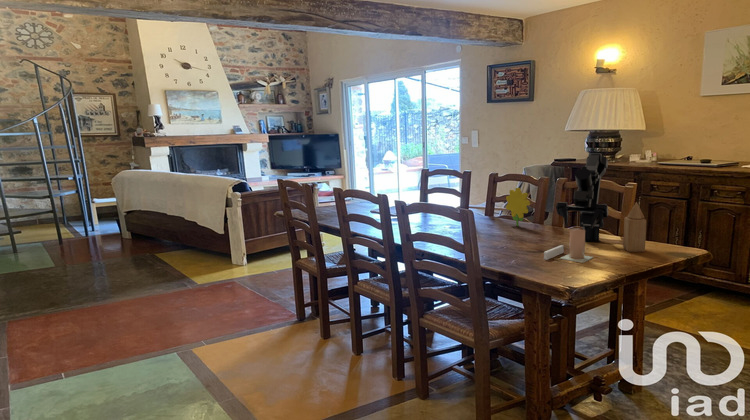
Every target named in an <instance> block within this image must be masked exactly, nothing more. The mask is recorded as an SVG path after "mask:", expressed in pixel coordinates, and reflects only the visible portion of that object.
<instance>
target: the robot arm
mask: <svg viewBox="0 0 750 420" xmlns="http://www.w3.org/2000/svg"><path fill="white" fill-rule="evenodd" d="M608 161H609V160H608V157H606V156H604V155H602V153H600V152H595V153H594V152H591V153H589V154H588V156H586V163H585V166H581V168H579V169H578V170H577V171H575V172H574V177H575V182H576V186H577V187H578V188H577V190H574V191H573V205H568V202H566V201H565V202H564V201H557V203H556V205H555V210H556V212H557V215H559V216H560V217H562V218H563V219H564V225H565V227H566V228H567V227H568V225H569V224H568V223H569V212H580V214H579V227H580V228H582V229H585V243H586V242H587V243H588V242H589V243H591V242H594V243H595V242H599V243H600V242H601V240H600V229H602V228H604V218H605V219H607V218H608V216H609V209H608V207H609V206H608V204H606V203H599V198H600V197H599V196H600V188H601V179H602V177H603V176H604V175H605V174H606V171H607V169H608V165H609V162H608Z"/></svg>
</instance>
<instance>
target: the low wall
mask: <svg viewBox="0 0 750 420" xmlns="http://www.w3.org/2000/svg"><path fill="white" fill-rule="evenodd" d="M564 248H565V247H564V244H563V245H562V244H560V245H557V246H555V247H553V248H551V249H548V250H546V251H544V252H543V260H545V261H549V260H550V259H552V258H555V257H557V256H559V255H561V254H564Z"/></svg>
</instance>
